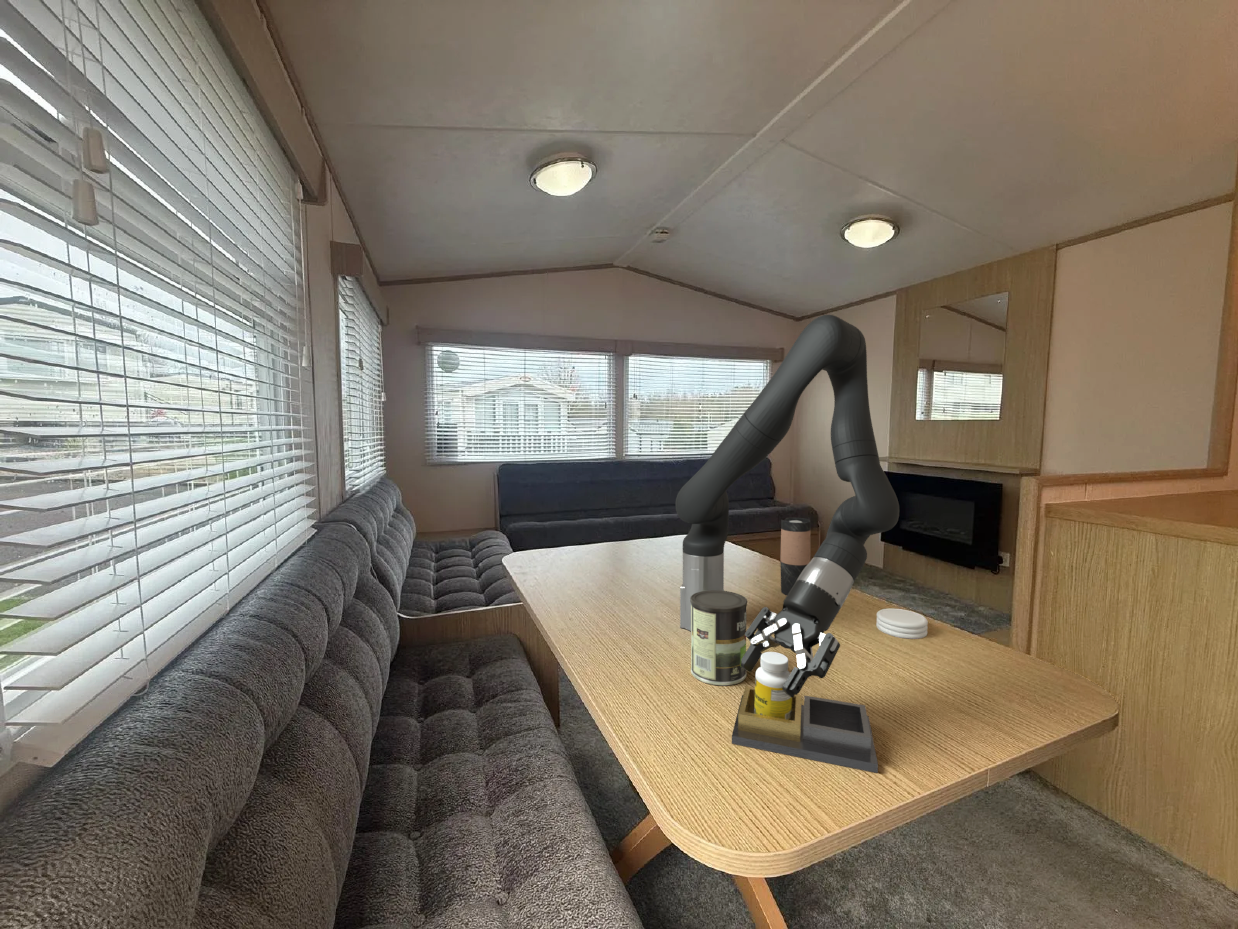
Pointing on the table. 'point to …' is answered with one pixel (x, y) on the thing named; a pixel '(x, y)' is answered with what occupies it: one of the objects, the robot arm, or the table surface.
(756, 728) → the two compartment tray
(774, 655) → the supplement bottle
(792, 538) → the travel mug
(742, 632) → the coffee can
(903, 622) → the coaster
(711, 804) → the table surface
